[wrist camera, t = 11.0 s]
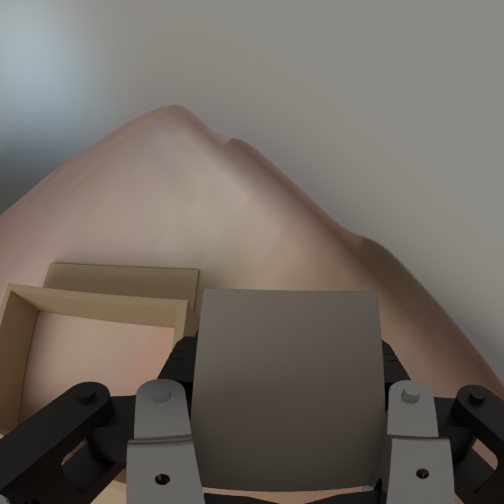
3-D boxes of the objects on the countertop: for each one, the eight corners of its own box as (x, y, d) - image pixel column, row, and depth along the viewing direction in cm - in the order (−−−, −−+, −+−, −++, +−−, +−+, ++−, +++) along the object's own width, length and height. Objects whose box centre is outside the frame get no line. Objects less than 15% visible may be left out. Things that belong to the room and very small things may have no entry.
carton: (11, 475, 16) (-21, 475, 12) (48, 264, 27) (24, 240, 23) (184, 537, 15) (168, 557, 11) (206, 271, 26) (196, 242, 22)
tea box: (225, 454, 12) (186, 484, 6) (231, 355, 15) (203, 288, 8) (323, 456, 12) (383, 483, 5) (324, 356, 15) (376, 291, 8)
